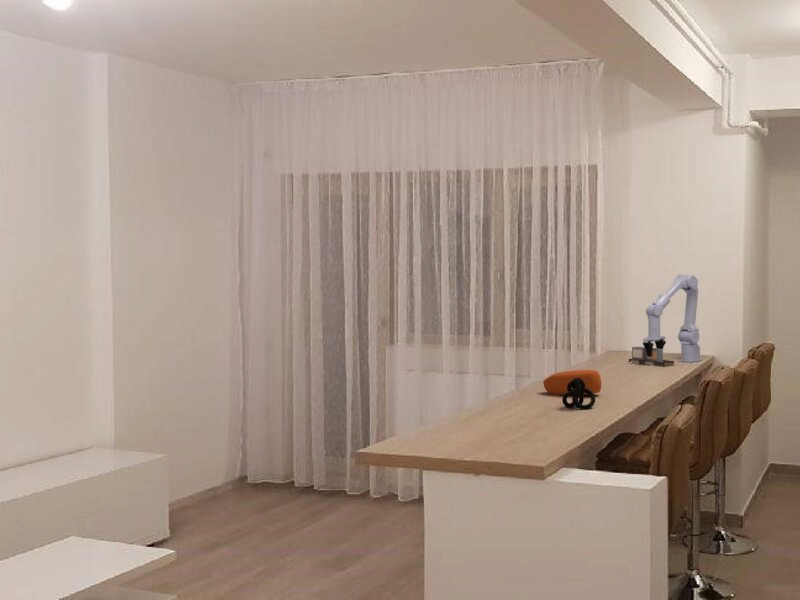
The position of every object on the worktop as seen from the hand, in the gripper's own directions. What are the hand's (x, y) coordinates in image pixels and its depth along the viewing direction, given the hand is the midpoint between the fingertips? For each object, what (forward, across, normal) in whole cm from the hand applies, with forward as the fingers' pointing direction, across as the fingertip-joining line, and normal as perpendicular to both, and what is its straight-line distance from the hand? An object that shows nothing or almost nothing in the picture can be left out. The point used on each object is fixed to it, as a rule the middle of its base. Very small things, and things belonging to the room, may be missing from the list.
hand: (654, 355), depth 542 cm
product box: (+3, 0, 0) cm, 3 cm away
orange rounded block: (+5, +98, +34) cm, 103 cm away
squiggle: (+5, +120, +58) cm, 133 cm away
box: (+3, 0, -9) cm, 10 cm away
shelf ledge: (+4, 0, -2) cm, 5 cm away
